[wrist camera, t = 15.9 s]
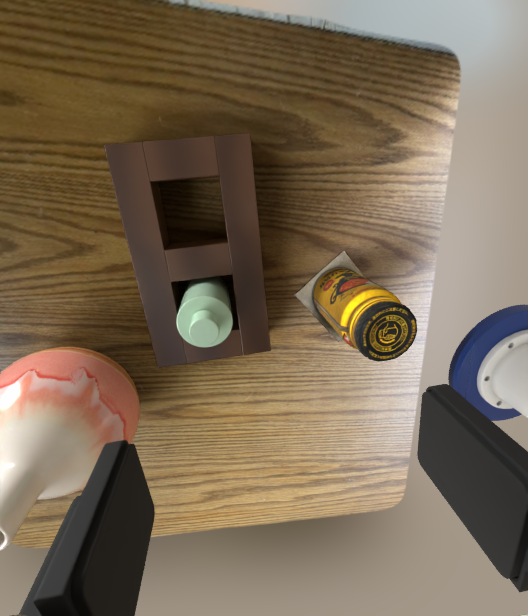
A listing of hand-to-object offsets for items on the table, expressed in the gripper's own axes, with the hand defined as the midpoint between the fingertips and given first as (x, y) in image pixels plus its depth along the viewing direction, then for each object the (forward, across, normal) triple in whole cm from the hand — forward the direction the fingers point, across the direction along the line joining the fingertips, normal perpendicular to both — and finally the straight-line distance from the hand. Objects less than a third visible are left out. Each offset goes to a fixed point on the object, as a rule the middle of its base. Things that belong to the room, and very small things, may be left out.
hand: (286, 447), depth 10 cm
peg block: (+26, +4, -2) cm, 26 cm away
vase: (+26, +19, +11) cm, 34 cm away
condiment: (+26, -11, +5) cm, 29 cm away
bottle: (+26, +4, +2) cm, 26 cm away
